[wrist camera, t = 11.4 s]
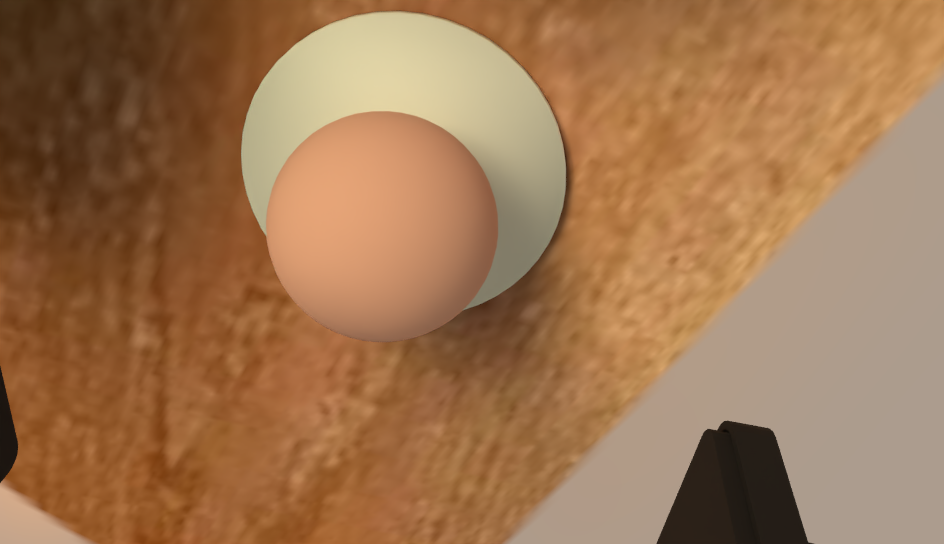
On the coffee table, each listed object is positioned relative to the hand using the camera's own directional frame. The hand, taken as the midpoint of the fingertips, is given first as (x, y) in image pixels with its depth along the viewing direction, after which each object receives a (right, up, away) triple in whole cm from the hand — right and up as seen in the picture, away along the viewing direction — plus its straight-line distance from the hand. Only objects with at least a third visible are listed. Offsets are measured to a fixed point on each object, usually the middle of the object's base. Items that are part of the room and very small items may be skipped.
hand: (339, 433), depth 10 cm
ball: (0, +3, +7) cm, 8 cm away
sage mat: (0, +4, +9) cm, 10 cm away
